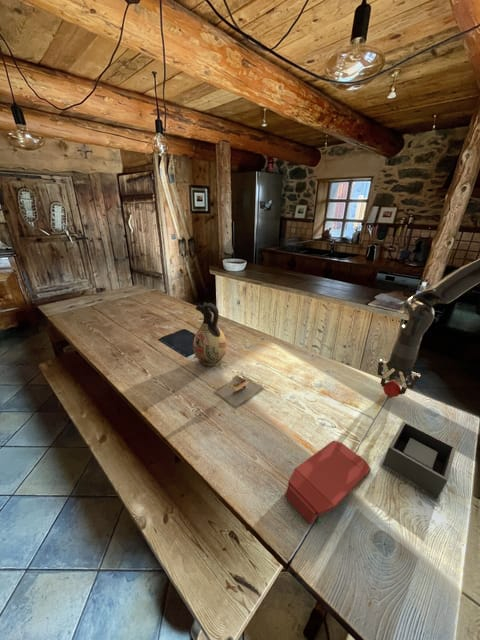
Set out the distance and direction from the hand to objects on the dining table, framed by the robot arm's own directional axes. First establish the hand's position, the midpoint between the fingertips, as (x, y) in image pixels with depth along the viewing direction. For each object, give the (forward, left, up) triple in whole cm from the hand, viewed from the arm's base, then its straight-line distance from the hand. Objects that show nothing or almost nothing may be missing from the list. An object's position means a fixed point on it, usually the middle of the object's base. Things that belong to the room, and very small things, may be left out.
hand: (391, 389), depth 102 cm
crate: (+26, +15, -4) cm, 30 cm away
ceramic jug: (+34, -67, -4) cm, 75 cm away
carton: (+48, -1, -4) cm, 48 cm away
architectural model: (+39, -44, -4) cm, 59 cm away
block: (+26, +15, -3) cm, 30 cm away
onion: (0, 0, -4) cm, 4 cm away
